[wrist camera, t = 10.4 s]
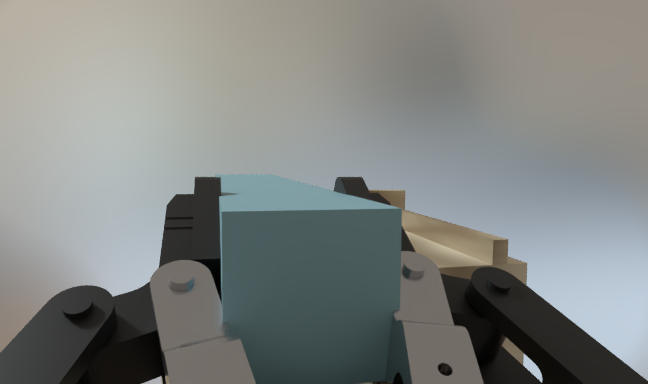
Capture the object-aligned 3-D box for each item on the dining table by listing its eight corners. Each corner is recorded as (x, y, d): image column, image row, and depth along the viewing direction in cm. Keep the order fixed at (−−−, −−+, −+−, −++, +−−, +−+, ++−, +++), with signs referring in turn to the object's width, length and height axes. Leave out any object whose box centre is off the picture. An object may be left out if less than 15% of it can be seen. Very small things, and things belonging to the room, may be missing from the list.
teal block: (222, 398, 9) (221, 211, 9) (216, 229, 30) (215, 174, 30) (398, 379, 10) (402, 208, 9) (270, 228, 31) (270, 174, 31)
